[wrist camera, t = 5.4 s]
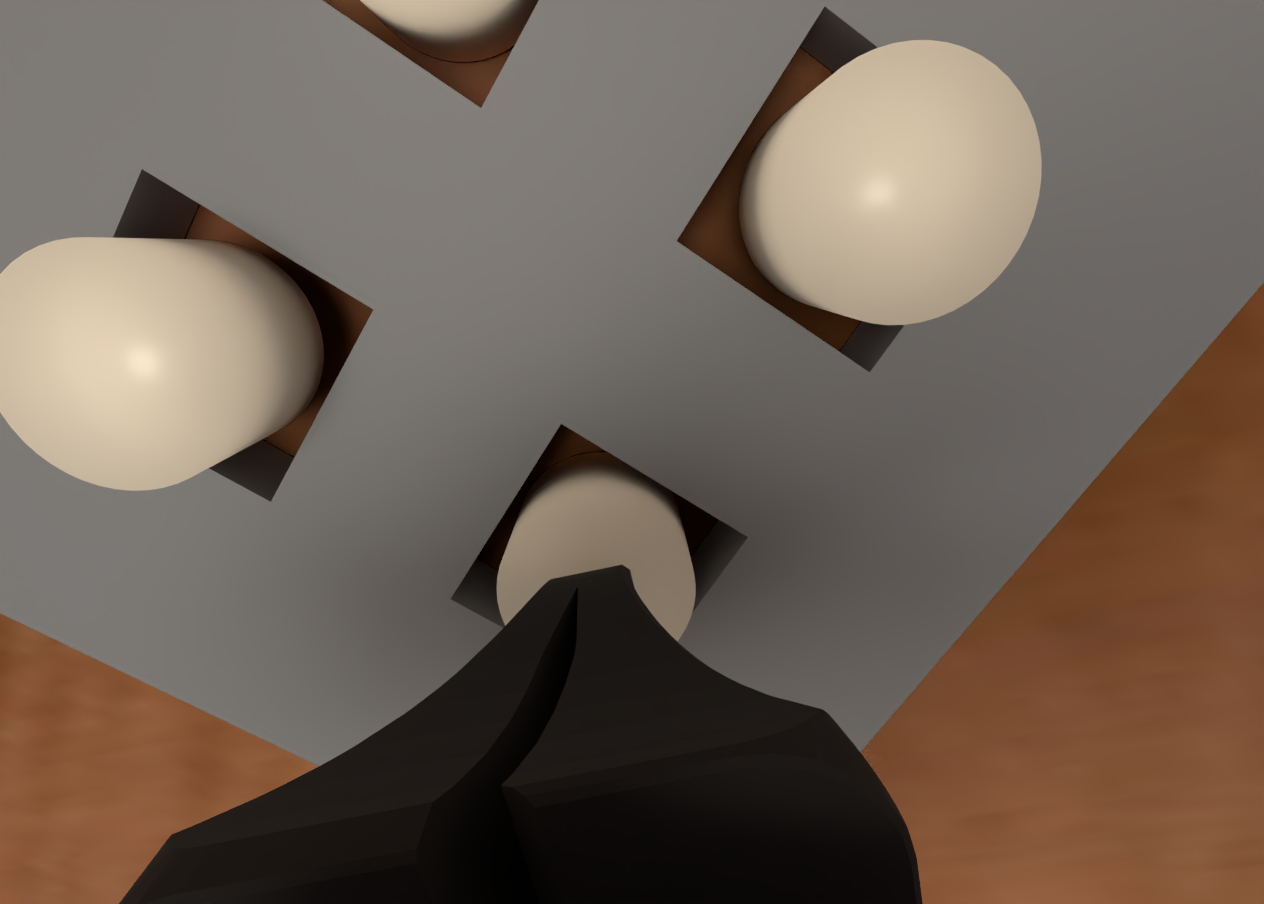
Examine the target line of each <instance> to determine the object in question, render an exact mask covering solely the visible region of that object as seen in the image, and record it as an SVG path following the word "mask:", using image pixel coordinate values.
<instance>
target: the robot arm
mask: <svg viewBox="0 0 1264 904" xmlns="http://www.w3.org/2000/svg"><path fill="white" fill-rule="evenodd" d="M119 904H922V896H921V888H920V881H919V873H918V865H917V858H916V854H915V851H914V847H913V844H912V841H911V837H910V834H909V831H908V828H907V826H906V824H905V822H904V820H903V818H902V816H901V814H900V812H899V810H898V808H897V806H896V804H895V803H894V801H893V800H892V798H891V796H890V795H889V793H888V792H887V790H886V788H885V787H884V785H883V784H882V782H881V781H880V779H879V778H878V776H877V775H876V773H875V772H874V771H873V769H872V768H871V766H870V765H869V764H868V762H867V761H866V760H865V758H864V757H863V755H862V754H861V753H860V751H859V750H858V749H857V747H856V746H855V745H854V744H853V742H852V741H851V740H850V739H849V737H848V736H847V735H846V734H845V733H844V731H843V730H842V729H841V728H840V727H839V725H838V724H837V723H836V722H835V721H834V719H833V718H832V717H831V716H830V715H829V714H828V713H827V712H826V711H824V710H823V709H820V708H816V707H812V706H808V705H804V704H800V703H797V702H793V701H789V700H785V699H781V698H777V697H773V696H770V695H767V694H765V693H762V692H760V691H757V690H755V689H752V688H750V687H747V686H745V685H742V684H740V683H738V682H736V681H734V680H732V679H730V678H728V677H726V676H724V675H723V674H721V673H719V672H717V671H715V670H714V669H712V668H710V667H709V666H707V665H706V664H705V663H703V662H702V661H700V660H699V659H698V658H696V657H695V656H694V655H693V654H691V653H690V652H689V651H688V650H686V649H685V648H684V647H683V646H682V645H681V644H679V643H678V642H677V641H676V640H675V639H674V638H673V637H672V636H671V635H670V634H669V633H668V632H667V631H666V630H665V629H664V627H663V626H662V625H661V624H660V623H659V622H658V621H657V620H656V618H655V617H654V616H653V615H652V613H651V612H650V611H649V609H648V608H647V607H646V605H645V604H644V603H643V601H642V600H641V598H640V597H639V595H638V593H637V592H636V590H635V588H634V584H633V579H632V575H631V571H630V569H628V568H627V567H625V566H624V565H617V566H613V567H608V568H603V569H598V570H593V571H588V572H583V573H578V574H574V575H569V576H564V577H559V578H554V579H550V580H549V581H548V582H546V583H545V584H544V585H543V586H542V587H541V588H540V589H539V590H538V591H537V592H536V593H535V594H534V596H533V597H532V598H531V599H530V600H529V601H528V602H527V603H526V604H525V605H524V606H523V608H522V609H521V610H520V611H519V612H518V613H517V614H516V615H515V616H514V617H513V618H512V619H511V620H510V621H509V622H508V624H507V625H506V626H505V627H504V628H503V629H502V630H501V631H500V632H499V633H498V634H497V635H496V636H495V637H494V638H493V639H492V640H491V641H490V642H489V643H488V644H487V645H486V646H485V647H484V648H483V649H481V650H480V651H479V652H478V653H477V654H476V655H475V656H474V657H473V658H472V659H471V660H470V661H469V662H468V663H467V664H466V665H465V666H464V667H463V668H462V669H460V670H459V671H458V672H457V673H456V674H455V675H454V676H452V677H451V678H450V679H449V680H448V681H446V682H445V683H444V684H443V685H442V686H440V687H439V688H438V689H437V690H435V691H434V692H433V693H431V694H430V695H429V696H428V697H426V698H425V699H424V700H422V701H421V702H420V703H418V704H417V705H416V706H414V707H413V708H412V709H410V710H409V711H408V712H406V713H405V714H403V715H402V716H400V717H399V718H397V719H396V720H394V721H392V722H391V723H389V724H388V725H386V726H385V727H383V728H382V729H380V730H379V731H377V732H376V733H374V734H372V735H371V736H369V737H368V738H366V739H365V740H363V741H362V742H360V743H359V744H357V745H356V746H354V747H352V748H351V749H349V750H347V751H346V752H344V753H342V754H340V755H339V756H337V757H335V758H333V759H331V760H330V761H328V762H326V763H324V764H323V765H321V766H319V767H317V768H315V769H313V770H311V771H310V772H308V773H306V774H304V775H302V776H300V777H298V778H296V779H294V780H292V781H290V782H288V783H287V784H285V785H283V786H281V787H278V788H276V789H274V790H272V791H270V792H268V793H266V794H264V795H262V796H260V797H258V798H255V799H253V800H251V801H249V802H246V803H244V804H242V805H240V806H237V807H235V808H233V809H231V810H228V811H226V812H224V813H221V814H219V815H217V816H215V817H212V818H210V819H208V820H206V821H203V822H201V823H199V824H197V825H194V826H192V827H190V828H187V829H185V830H182V831H180V832H177V833H175V834H172V835H171V836H170V837H169V839H168V840H167V841H166V843H165V844H164V845H163V846H162V848H161V849H160V850H159V852H158V853H157V854H156V856H155V857H154V858H153V860H152V861H151V862H150V864H149V865H148V866H147V868H146V869H145V870H144V872H143V873H142V874H141V875H140V877H139V878H138V879H137V881H136V882H135V883H134V885H133V886H132V887H131V889H130V890H129V891H128V893H127V894H126V895H125V897H124V898H123V899H122V901H121V902H120V903H119Z"/></svg>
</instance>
